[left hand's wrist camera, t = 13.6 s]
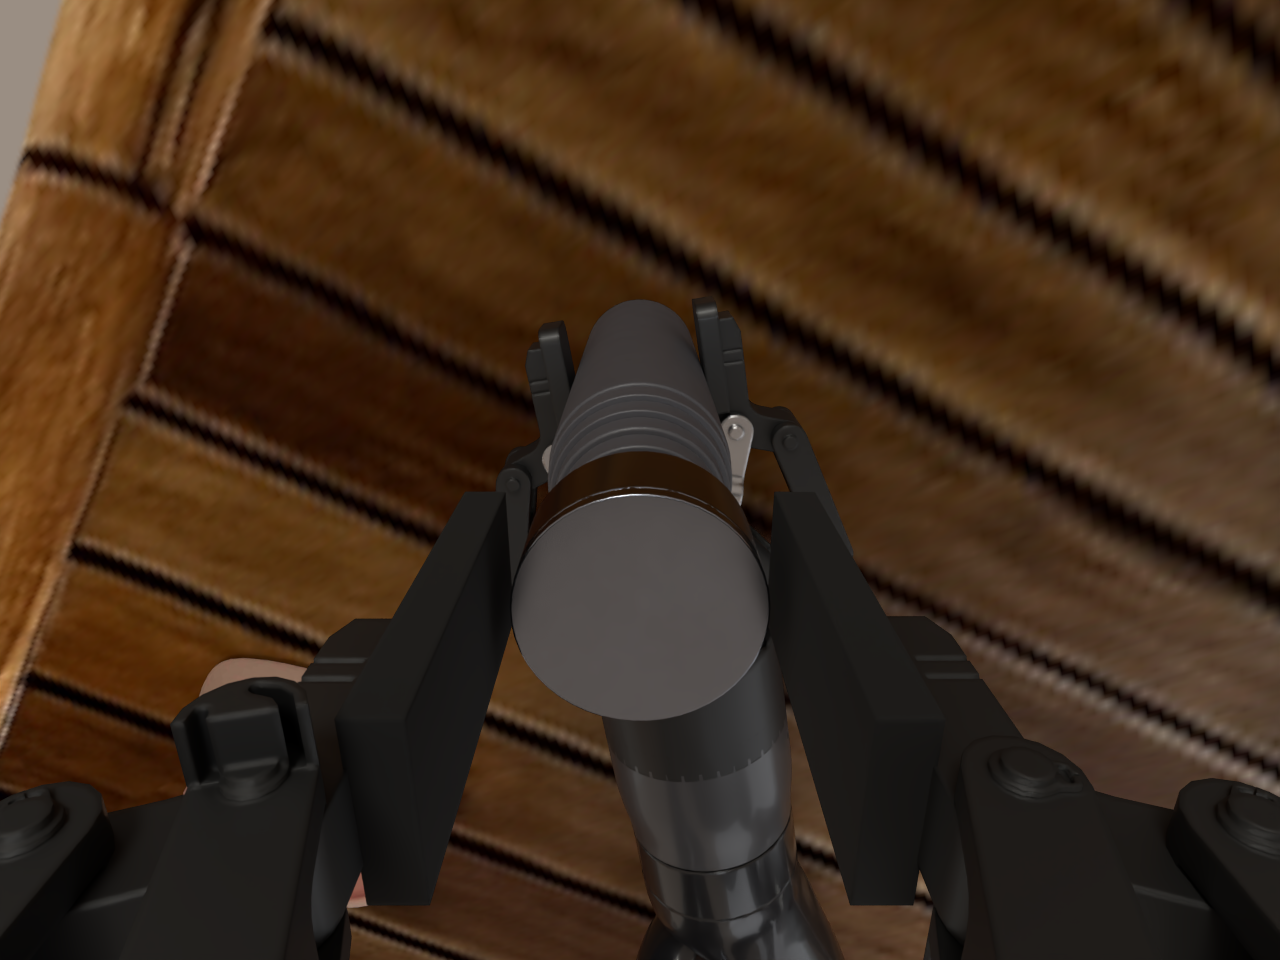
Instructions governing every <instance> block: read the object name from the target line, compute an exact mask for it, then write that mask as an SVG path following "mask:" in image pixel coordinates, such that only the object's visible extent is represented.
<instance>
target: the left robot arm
mask: <svg viewBox="0 0 1280 960" xmlns="http://www.w3.org/2000/svg"><path fill="white" fill-rule="evenodd" d="M768 588H769V594H770V621H769V626H768V627H769V630H770V634H771V637H772V640H773V644H774V647H775V651H776V654H777V657H778V661H779V664H780V668H781V671H782V674H783V678H784V681H785V685H786V688H787V691H788V695H789V698H790V702H791V705H792V708H793V712H794V715H795V719H796V722H797V726H798V729H799V732H800V736H801V739H802V743H803V746H804V749H805V753H806V756H807V760H808V763H809V766H810V770H811V773H812V777H813V780H814V783H815V787H816V790H817V794H818V797H819V800H820V804H821V807H822V811H823V814H824V818H825V821H826V824H827V828H828V831H829V835H830V838H831V841H832V845H833V848H834V852H835V855H836V858H837V862H838V865H839V869H840V872H841V875H842V879H843V882H844V886H845V889H846V892H847V896H848V899H849V903H850V905H913V904H914V898H915V892H916V887H917V881H918V875H919V869H920V872H921V874H922V876H923V879H924V881H925V884H926V886H927V889H928V891H929V893H930V896H931V898H932V901H933V903H934V906H933V911H932V917H931V922H930V927H929V933H928V938H927V943H926V948H925V954H924V959H923V960H1280V797H1278V796H1276V795H1274V794H1272V793H1270V792H1268V791H1265V790H1262V789H1260V788H1257V787H1253V786H1251V785H1247V784H1244V783H1241V782H1237V781H1229V780H1222V779H1215V778H1210V779H1203V780H1196V781H1191V782H1190V783H1189V784H1187V785H1186V786H1185V787H1184V788H1183V789H1181V790H1180V792H1179V795H1178V798H1177V801H1176V804H1175V807H1174V810H1172V809H1167V808H1163V807H1158V806H1154V805H1149V804H1145V803H1141V802H1136V801H1132V800H1127V799H1123V798H1118V797H1114V796H1111V795H1107V794H1104V793H1100V792H1097V791H1094V788H1093V786H1092V785H1091V783H1090V782H1089V780H1088V779H1087V777H1086V776H1085V774H1084V773H1083V771H1082V770H1081V769H1080V768H1079V767H1077V766H1076V765H1075V764H1074V763H1072V762H1071V761H1070V760H1069V759H1067V758H1066V757H1065V756H1064V755H1062V754H1061V753H1059V752H1057V751H1055V750H1053V749H1050V748H1048V747H1046V746H1044V745H1042V744H1040V743H1038V742H1034V741H1031V740H1027V739H1024V738H1023V737H1022V735H1021V734H1020V732H1019V731H1018V729H1017V728H1016V727H1015V725H1014V724H1013V722H1012V721H1011V719H1010V718H1009V717H1008V715H1007V714H1006V712H1005V711H1004V709H1003V708H1002V707H1001V705H1000V704H999V702H998V701H997V699H996V698H995V697H994V695H993V694H992V692H991V691H990V689H989V688H988V686H987V685H986V684H985V682H984V681H983V679H979V674H978V672H977V671H976V669H975V668H974V666H973V665H972V664H971V662H970V661H967V659H966V657H967V656H966V655H965V654H964V652H963V651H962V649H961V648H960V646H959V645H958V644H957V642H956V641H955V639H954V638H953V636H952V635H951V634H949V633H948V632H947V631H945V630H944V629H942V628H941V627H939V626H938V625H937V624H935V623H934V622H932V621H931V620H929V619H928V618H927V617H925V616H886V615H885V613H884V611H883V609H882V608H881V606H880V604H879V602H878V601H877V599H876V597H875V595H874V594H873V592H872V590H871V589H870V587H869V585H868V583H867V582H866V580H865V578H864V576H863V575H862V573H861V571H860V569H859V568H858V566H857V564H856V562H855V561H854V559H853V557H852V556H851V554H850V552H849V550H848V549H847V547H846V545H845V543H844V542H843V540H842V538H841V536H840V535H839V533H838V531H837V530H836V528H835V526H834V524H833V523H832V521H831V519H830V517H829V516H828V514H827V512H826V510H825V509H824V507H823V505H822V504H821V502H820V500H819V498H818V497H817V495H816V493H815V492H774V506H773V521H772V536H771V550H770V565H769V580H768ZM511 589H512V580H511V565H510V550H509V536H508V521H507V506H506V492H465V493H464V495H463V497H462V498H461V500H460V502H459V504H458V505H457V507H456V509H455V510H454V512H453V514H452V516H451V517H450V519H449V521H448V523H447V524H446V526H445V528H444V530H443V531H442V533H441V535H440V536H439V538H438V540H437V542H436V543H435V545H434V547H433V549H432V550H431V552H430V554H429V556H428V557H427V559H426V561H425V562H424V564H423V566H422V568H421V569H420V571H419V573H418V575H417V576H416V578H415V580H414V582H413V583H412V585H411V587H410V588H409V590H408V592H407V594H406V595H405V597H404V599H403V601H402V602H401V604H400V606H399V608H398V609H397V611H396V613H395V614H394V616H393V618H392V619H354V620H353V621H351V622H350V623H349V624H347V625H346V626H344V627H343V628H341V629H340V630H339V631H337V632H336V633H334V634H333V635H332V636H330V637H329V638H328V639H327V641H326V642H325V644H324V645H323V647H322V648H321V649H320V651H319V652H318V654H317V655H316V657H315V658H314V663H311V664H310V665H309V667H308V668H307V670H306V671H305V673H304V674H303V675H302V677H301V682H298V683H297V682H296V681H293V680H289V679H285V678H281V677H253V678H248V679H244V680H240V681H236V682H232V683H227V684H225V685H223V686H221V687H218V688H216V689H214V690H211V691H209V692H207V693H204V694H202V695H201V696H200V697H198V698H197V699H195V700H194V701H193V702H191V703H190V704H188V705H187V706H185V707H184V708H183V709H182V710H181V711H180V712H179V714H178V715H177V716H176V718H175V719H174V720H173V721H172V723H171V724H170V726H171V729H172V733H173V737H174V741H175V744H176V748H177V752H178V755H179V759H180V763H181V767H182V770H183V774H184V778H185V781H186V785H187V790H186V792H185V794H184V795H180V796H177V797H174V798H170V799H167V800H163V801H158V802H154V803H149V804H145V805H141V806H136V807H132V808H127V809H123V810H118V811H114V812H109V813H107V810H106V807H105V804H104V801H103V798H102V795H101V793H99V792H98V791H97V790H96V789H95V788H93V787H92V786H91V785H90V784H83V783H77V782H70V781H68V782H61V783H54V784H46V785H41V786H38V787H35V788H32V789H29V790H26V791H22V792H20V793H17V794H14V795H11V796H10V797H8V798H6V799H4V800H2V801H0V960H349V957H350V947H351V937H352V936H351V929H350V923H349V917H348V911H347V905H348V902H349V900H350V897H351V895H352V892H353V890H354V888H355V885H356V883H357V880H358V878H359V875H360V873H361V875H362V881H363V887H364V892H365V898H366V904H367V905H430V903H431V899H432V896H433V892H434V889H435V886H436V882H437V879H438V875H439V872H440V869H441V865H442V862H443V858H444V855H445V852H446V848H447V845H448V841H449V838H450V835H451V831H452V828H453V824H454V821H455V817H456V814H457V811H458V807H459V804H460V800H461V797H462V794H463V790H464V787H465V783H466V780H467V777H468V773H469V770H470V766H471V763H472V760H473V756H474V753H475V749H476V746H477V743H478V739H479V736H480V732H481V729H482V725H483V722H484V719H485V715H486V712H487V708H488V705H489V702H490V698H491V695H492V691H493V688H494V685H495V681H496V678H497V674H498V671H499V668H500V664H501V661H502V657H503V654H504V651H505V647H506V644H507V640H508V637H509V633H510V630H511V627H512V625H511V616H510V597H511Z"/></svg>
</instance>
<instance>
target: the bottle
mask: <svg viewBox="0 0 1280 960" xmlns="http://www.w3.org/2000/svg"><path fill="white" fill-rule="evenodd" d="M630 451H649V452H658V453H664V454H668V455H673V456H677V457H679V458H682V459H685V460H687V461H690V462H692V463H694V464H696V465H698V466H700V467H702V468H703V469H705V470H707V471H708V472H709V473H711V474H712V475H713V476H715V477H716V478H717V479H718V480H720V481H721V482H722V483H723V484H724V485H725V486H726V487H727V488H728V489H729V491H730V492H731V491H732V468H731V457H730V451H729V447H728V443H727V440H726V437H725V434H724V431H723V428H722V425H721V422H720V419H719V417H718V414H717V411H716V408H715V405H714V402H713V399H712V396H711V393H710V390H709V388H708V385H707V382H706V379H705V376H704V373H703V370H702V367H701V364H700V362H699V359H698V356H697V353H696V350H695V347H694V344H693V341H692V338H691V336H690V333H689V331H688V329H687V327H686V325H685V323H684V322H683V321H682V319H681V318H680V317H679V316H678V315H677V314H676V313H675V312H674V311H672V310H671V309H670V308H668V307H666V306H664V305H662V304H660V303H657V302H654V301H650V300H631V301H626V302H623V303H620V304H618V305H616V306H614V307H612V308H611V309H609V310H608V311H607V312H605V313H604V314H603V315H602V316H601V317H600V318H599V319H598V321H597V322H596V324H595V325H594V327H593V329H592V331H591V333H590V336H589V339H588V342H587V345H586V347H585V350H584V353H583V356H582V359H581V362H580V365H579V368H578V371H577V374H576V376H575V379H574V382H573V385H572V388H571V391H570V394H569V397H568V400H567V403H566V406H565V408H564V411H563V414H562V417H561V420H560V423H559V426H558V429H557V432H556V435H555V437H554V440H553V443H552V447H551V452H550V458H549V469H548V490H549V492H550V491H551V489H552V488H554V487H555V486H556V485H557V484H558V483H559V482H560V481H561V480H562V479H563V478H564V477H566V476H567V475H568V474H570V473H571V472H572V471H574V470H575V469H577V468H579V467H581V466H582V465H584V464H586V463H588V462H590V461H593V460H595V459H598V458H600V457H604V456H608V455H612V454H615V453H623V452H630Z"/></svg>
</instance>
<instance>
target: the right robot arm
mask: <svg viewBox="0 0 1280 960" xmlns="http://www.w3.org/2000/svg"><path fill="white" fill-rule="evenodd" d="M692 306H693V314H694V321H695V328H696V335H697V342H698V350H699V357H700V364H701V367H702V370H703V373H704V376H705V379H706V382H707V385H708V388H709V390H710V393H711V396H712V399H713V402H714V405H715V408H716V411H717V414H718V417H719V419H720V422H721V425H722V428H723V431H724V434H725V437H726V440H727V443H728V447H729V451H730V457H731V468H732V491H731V493H732V494H733V496H734V497H735V498H736V499H737V501H738V503H739V504H740V506H741V502H742V497H743V482H744V475H745V470H746V466H747V461H748V457H749V452H750V448H755V449H761V450H766V451H772V452H773V453H774V455H775V458H776V460H777V462H778V465H779V467H780V469H781V472H782V474H783V476H784V479H785V481H786V484H787V486H788V488H789V491H790V492H815V493H816V495H817V497H818V498H819V500H820V502H821V504H822V505H823V507H824V509H825V510H826V512H827V514H828V516H829V517H830V519H831V521H832V523H833V524H834V526H835V528H836V530H837V531H838V533H839V535H840V536H841V538H842V540H843V542H844V543H845V545H846V547H847V549H848V550H849V552H850V554H851V556H852V557H853V549H852V547H851V544H850V542H849V539H848V537H847V534H846V532H845V529H844V527H843V524H842V522H841V519H840V517H839V514H838V512H837V509H836V507H835V504H834V502H833V499H832V497H831V494H830V492H829V490H828V487H827V485H826V482H825V480H824V477H823V475H822V472H821V470H820V467H819V465H818V462H817V460H816V457H815V455H814V452H813V450H812V447H811V445H810V442H809V440H808V437H807V435H806V433H805V431H804V430H803V428H802V427H801V425H800V424H799V422H798V421H797V420H796V418H795V417H794V415H793V414H792V412H791V411H790V410H789V409H787V408H785V407H781V406H777V407H773V408H769V407H764V406H759V405H756V404H754V403H752V402H751V401H749V399H748V391H747V382H746V374H745V365H744V357H743V349H742V339H741V331H740V329H739V327H738V326H737V324H736V322H735V320H734V318H733V317H732V315H731V314H730V313H729V311H723V312H717V306H716V302H715V300H714V299H713V297H712V296H708V297H702V298H696V299H692ZM525 367H526V372H527V376H528V381H529V385H530V390H531V393H532V399H533V403H534V407H535V412H536V416H537V421H538V425H539V430H540V438H539V439H537V440H536V441H534V442H533V443H531V444H529V445H527V446H525V447H522V446H521V447H517V448H515V449H513V450H512V451H511V452H510V453H509V455H508V457H507V459H506V463H505V466H504V468H503V469H502V470H501V471H500V473H499V475H498V477H497V480H496V492H506V506H507V521H508V536H509V550H510V565H511V580H512V585H513V580H514V577H515V573H516V571H517V567H518V564H519V561H520V558H521V555H522V552H523V549H524V546H525V543H526V539H527V536H528V533H529V530H530V527H531V524H532V522H533V519H534V517H535V514H536V503H537V487H538V486H540V485H542V484H544V483H546V482H547V481H548V469H549V458H550V452H551V447H552V443H553V440H554V437H555V435H556V432H557V429H558V426H559V423H560V420H561V417H562V414H563V411H564V408H565V406H566V403H567V400H568V397H569V394H570V391H571V388H572V385H573V382H574V379H575V371H574V367H573V362H572V357H571V352H570V347H569V342H568V337H567V332H566V327H565V324H564V321H557V322H551V323H545V324H543V325H542V326H541V328H540V329H539V342H535V343H533V344H532V345H531V347H530V348H529V350H528V353H527V359H526V365H525ZM749 526H750V525H749ZM750 529H751V532H752V536H753V539H754V542H755V545H756V548H757V551H758V554H759V557H760V560H761V563H762V567H763V569H764V572H765V576H766V580H767V584H768V580H769V565H770V550H771V545H770V544H769V543H768V542H767V541H766V540H765V539H764V538H763V537H762V536H761V535H760V534H759V533H758V532H757V531H756V530H755V529H754V528H753V527H751V526H750ZM602 719H603V724H604V728H605V733H606V737H607V742H608V746H609V751H610V755H611V760H612V764H613V768H614V773H615V777H616V782H617V785H618V789H619V792H620V795H621V798H622V800H623V803H624V806H625V808H626V810H627V813H628V815H629V817H630V820H631V823H632V827H633V830H634V834H635V839H636V843H637V848H638V852H639V857H640V862H641V866H642V872H643V876H644V881H645V885H646V889H647V892H648V895H649V898H650V901H651V903H652V906H653V908H654V911H655V913H656V916H655V918H654V919H653V920H652V922H651V924H650V925H649V927H648V929H647V931H646V933H645V936H644V939H643V941H642V944H641V946H640V949H639V952H638V955H637V959H636V960H844V957H843V954H842V951H841V949H840V946H839V944H838V941H837V939H836V936H835V934H834V932H833V930H832V928H831V926H830V924H829V922H828V920H827V918H826V916H825V914H824V912H823V910H822V908H821V906H820V904H819V901H818V899H817V897H816V895H815V893H814V891H813V889H812V887H811V884H810V882H809V880H808V878H807V876H806V875H805V873H804V871H803V869H802V868H801V866H800V864H799V862H798V860H797V850H796V841H795V832H794V824H793V816H792V808H791V798H790V791H791V775H792V764H791V749H790V741H789V733H788V725H787V716H786V706H785V698H784V690H783V681H782V673H781V668H780V664H779V661H778V657H777V654H776V651H775V647H774V644H773V640H772V637H771V634H770V630H769V627H768V630H767V635H766V638H765V640H764V643H763V646H762V648H761V650H760V652H759V654H758V656H757V658H756V660H755V662H754V663H753V664H752V666H751V667H750V669H749V670H748V671H747V673H746V674H745V675H744V676H743V677H742V678H741V679H740V680H739V682H738V683H737V684H736V685H735V686H733V687H732V688H731V689H730V690H729V691H727V692H726V693H725V694H724V695H722V696H721V697H719V698H718V699H716V700H714V701H713V702H711V703H710V704H708V705H706V706H703V707H701V708H699V709H697V710H695V711H692V712H689V713H686V714H684V715H680V716H676V717H672V718H667V719H661V720H652V721H629V720H618V719H613V718H609V717H604V716H602Z"/></svg>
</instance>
